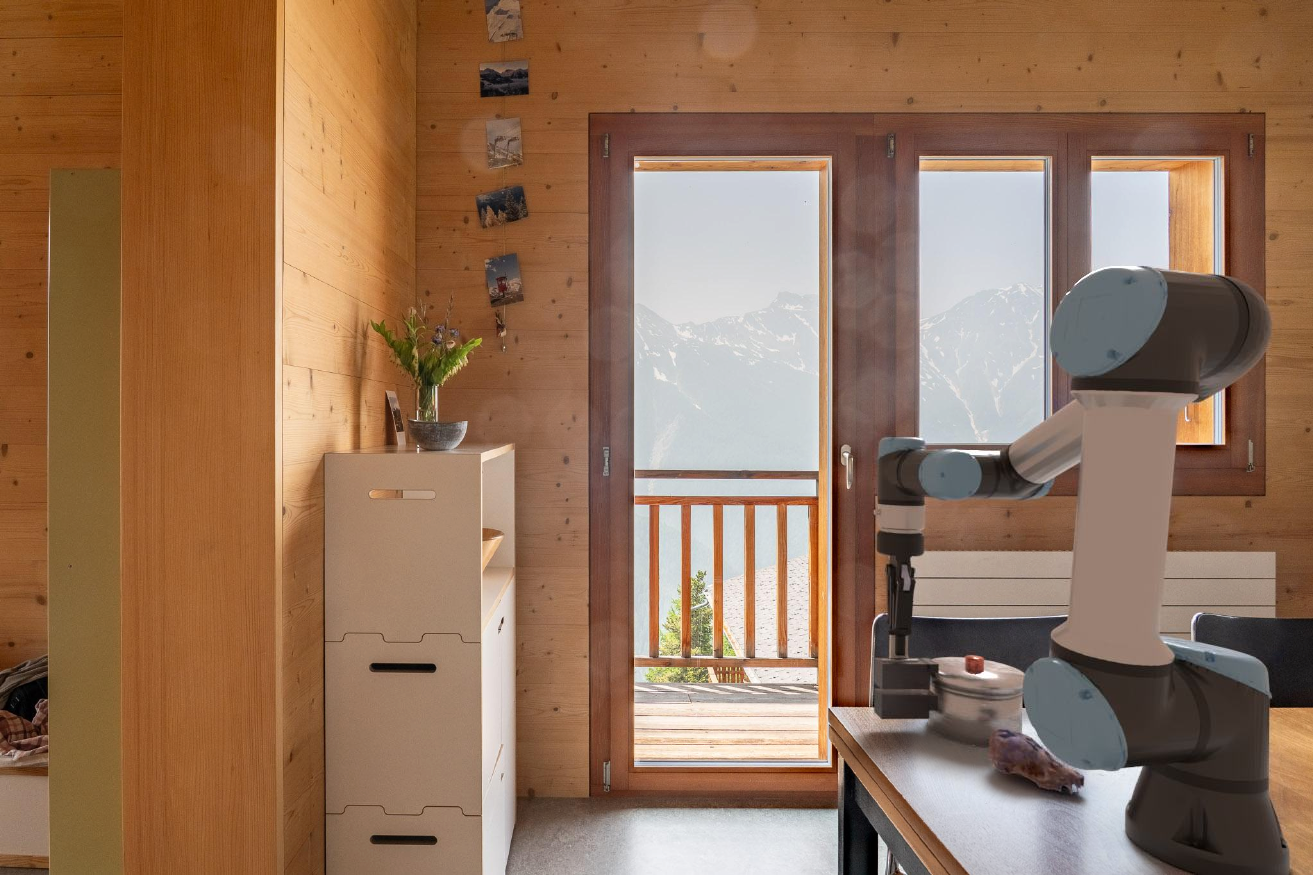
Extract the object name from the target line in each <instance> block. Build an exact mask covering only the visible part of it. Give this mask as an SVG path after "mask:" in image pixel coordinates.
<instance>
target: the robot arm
mask: <svg viewBox="0 0 1313 875" xmlns="http://www.w3.org/2000/svg"><path fill="white" fill-rule="evenodd" d="M1272 328H1273V321H1272V315H1271V311H1270V309H1269V307H1268V305H1267V303H1266V301H1265V300H1264V298H1263V297H1262V296H1261V294H1259V293H1258V292H1257V291H1256V289H1254V288H1252V286H1251V285H1249V284H1247V283H1245V282H1244V281H1241V280H1240V279H1237V278H1236V277H1235V278H1234V277H1232V276H1227V275H1222V274H1216V273H1199V272H1197V273H1196V272H1190V271H1182V270H1174V269H1165V268H1159V267H1152V266H1147V265H1137V266H1135V265H1133V266H1107V267H1103V268H1100V269H1097V270H1095V271H1092V272H1090V273H1089V274H1087V275H1085V276H1083V277H1082V278H1081V279H1080V280H1078V281H1077V282H1076V283H1075V284H1074V285H1073V287H1072V288H1071V290H1070V291H1069V292H1067V293H1065V295H1064V296H1063V298H1062V299H1061V300H1060V302H1059V304H1058V306H1057V308H1056V310H1055V313H1054V314H1053V318H1052V322H1051V324H1050V328H1049V329H1050V331H1049V348H1050V352H1051V355H1052V357H1055V358H1056V359H1055V363H1056V364H1057V365H1058V367H1059V368H1060V369H1062V370H1063V371H1065V372H1066V373H1067V374H1069V375H1071V376H1070V378H1071V380H1070V392H1069V393H1070V395H1071V396H1072V397H1073V398H1074V399H1073V400H1072V401H1070V402H1069V403H1068V404H1066V405H1064V406H1063V407H1062V408H1061V409H1059V410H1057V411H1056V412H1055V413H1053V414H1052V415H1050V416H1049V417H1048V418H1045V420H1043V421H1042V422H1040V423H1038V425H1035V427H1033V428H1032V429H1030V430H1029V431H1028V432H1026V433H1025V434H1023V435H1021V436H1020V437H1019V438H1017V439H1016V440H1015V441H1013V442H1011V443H1010V444H1008V445H1007V446H1006V447H1004V448H1003V449H1001V450H971V449H969V450H967V449H956V448H941V449H940V448H939V449H937V448H936V449H927V446H926V441H925V440H924V439H923V437H904V436H903V437H901V436H898V437H895V436H894V437H892V436H890V437H882V438H881V439H880V441H878V442H879V443H878V451H877V452H878V453H877V459H876V463H877V464H876V465H877V466H876V468H877V473H876V475H877V477H876V479H877V480H876V481H877V486H876V489H877V491H876V492H877V493H876V494H877V498H876V499H877V508H876V509H874V510H873V515H874V516H877V517H876V518H877V520H876V523H877V524H876V526H877V527H878V528H880V530H878V531H876V546H875V547H876V549H875V550H876V552H877V553H878V554H880V555H884V556H889V557H888V558H889V559H888V563H885V568H884V572H885V577H886V578H885V579H886V580H885V581H886V612H887V613H886V616H887V619H886V623H887V625H888V629H887V635H888V636H889V645H888V646H889V651H888V652H889V653H888V654H889V655H888V658H909V636H910V635H911V634H912V626H913V625H912V624H913V623H912V622H913V610H914V609H913V608H914V595H915V594H914V593H915V588H916V584H917V581H916V578H914V577H915V567H914V566H912V561H911V558H912V557H921V556H923V555H924V553H925V534H924V533H923V532H922V530H924V529H925V528H926V499H925V498H931V499H938V500H940V501H961V500H971V499H972V500H1013V501H1027V500H1032V499H1035V500H1036V499H1039V498H1040V499H1041V498H1043V497H1045V496H1046V495H1048V494H1049V492H1050V490H1051V487H1052V486H1053V485H1054V482H1055V478H1056V477H1058V476H1059V475H1061V474H1062V473H1064V472H1066V471H1067V470H1069V469H1071V468H1072V467H1074V466H1077V465H1078V464H1079V475H1078V476H1079V477H1078V488H1077V497H1076V498H1077V499H1076V511H1075V514H1076V515H1075V523H1074V524H1075V525H1074V535H1073V537H1074V538H1073V548H1072V560H1071V561H1072V563H1071V574H1070V575H1071V576H1070V588H1069V600H1068V610H1067V611H1068V613H1067V619H1066V621H1064V622H1063V623H1062V624H1060V625H1058V626H1057V627H1054V629H1052V631H1051V632H1050V643H1049V653H1048V654H1049V656H1046V657H1040V658H1038V660H1035V661H1034V662H1033V663H1032V664H1031V665H1030V666H1028V667H1027V669H1026V671H1025V672H1024V673H1025V676H1024V679H1023V695H1022V700H1023V704H1024V707H1025V712H1026V714H1027V717H1028V720H1029V723H1030V725H1031V727H1032V728H1033V729H1034V730H1035V732H1036V734H1037V737H1038V738H1039V740H1040V741H1041V742H1042V744H1043V745H1044V747H1046V749H1048V752H1049V753H1050V754H1052V755H1054V756H1055V757H1056V758H1057V759H1058V760H1060V761H1061V762H1063V763H1065V764H1066V765H1068V766H1070V767H1073V768H1075V769H1079V770H1084V771H1105V772H1117V771H1120V769H1127V768H1129V769H1130V768H1139V767H1141V770H1140V773H1139V775H1138V777H1137V781H1136V783H1135V786H1134V789H1133V792H1132V795H1131V797H1130V800H1128V803H1127V804H1126V805H1125V810H1124V829H1125V830H1124V831H1125V832H1126V834H1127V836H1128V838H1129V839H1130V840H1131V841H1132V842H1133V843H1135V844H1136V845H1137V846H1138V847H1140V848H1141V849H1142V850H1144V851H1146V852H1147V853H1149V854H1150V855H1152V856H1154V857H1155V858H1158V859H1160V860H1162V861H1163V862H1166V863H1168V864H1171V865H1172V866H1175V867H1177V868H1180V869H1183V870H1186V871H1188V872H1191V873H1194V874H1197V875H1290V874H1291V872H1290V871H1291V869H1290V868H1291V867H1290V866H1291V864H1290V863H1291V861H1290V860H1291V853H1290V848H1289V846H1288V843H1287V841H1286V839H1285V838H1284V835H1283V830H1282V827H1281V823H1280V822H1279V819H1278V815H1277V813H1276V810H1275V808H1274V805H1273V802H1272V799H1271V797H1270V703H1271V702H1270V699H1272V698H1273V696H1272V693H1271V692H1270V683H1269V682H1270V680H1269V671H1268V668H1267V667H1266V665H1265V664H1264V663H1263V662H1262V661H1261V660H1260V659H1258V658H1256V656H1252V655H1251V654H1247V653H1244V652H1241V651H1237V650H1235V649H1230V648H1226V647H1221V646H1217V645H1212V644H1208V643H1203V642H1199V641H1194V640H1189V639H1183V638H1178V637H1177V638H1176V637H1170V636H1162V635H1160V629H1161V616H1162V606H1163V594H1164V593H1163V592H1164V582H1165V571H1166V561H1167V560H1166V559H1167V551H1168V550H1167V549H1168V548H1167V547H1168V540H1169V539H1168V537H1169V527H1170V517H1171V505H1172V491H1173V482H1174V470H1175V459H1176V448H1177V446H1176V445H1177V438H1178V435H1177V434H1178V425H1179V423H1178V422H1179V414H1180V413H1181V412H1182V410H1184V409H1185V408H1186V407H1188V406H1189V405H1192V404H1193V405H1195V404H1199V403H1201V402H1203V401H1205V400H1208V399H1209V398H1210V397H1212V396H1214V395H1216V394H1218V393H1219V392H1221V391H1223V390H1225V389H1226V388H1228V387H1230V386H1231V385H1232V384H1234V383H1236V382H1237V381H1238V380H1240V379H1242V377H1244V376H1245V375H1246V374H1247V373H1249V372H1250V371H1251V370H1252V369H1253V368H1254V367H1255V366H1256V365H1257V364H1258V363H1259V362H1260V361H1261V358H1262V357H1263V356H1264V354H1265V352H1266V351H1267V349H1268V346H1269V343H1270V342H1271V338H1272V330H1273V329H1272Z"/></svg>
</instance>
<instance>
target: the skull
mask: <svg viewBox="0 0 1313 875" xmlns="http://www.w3.org/2000/svg"><path fill="white" fill-rule="evenodd" d="M989 744H990V748H989V751H988V753H987V755H988V759H990V762H991V763H992V765H993V766H994V768H995V769H996V770H998V771H999V772H1000V773H1002V774H1005V775H1008V774H1009V775H1012V774H1018V775H1021V776H1023V777H1025V778H1027V779H1029V780H1031V781H1033V782H1034V783H1036V785H1037V786H1038V787H1039V788H1043V789H1046V790H1055V791H1059V792H1060V793H1062V788H1063V786H1065V787H1067V788H1068V789H1069V793H1070V794H1071V795H1072V794H1073V785H1074V786H1075V787H1076V792H1078V791H1079V789H1080V790H1081V789H1082V788H1084V787H1085V786H1084V784H1085V776H1084V775H1083V774H1081V773H1080V772H1078V771H1077V770H1074V769H1072V768H1071V767H1068V766H1066V765H1064V764H1062V763H1060V761H1059V762H1058V760H1056V759H1055V758H1053V756H1052V755H1051V753H1050V751H1049V750H1047V749H1046V748H1044V747H1043V746H1041V745H1040V743H1038V742H1037V740H1036V739H1034V738H1032V737H1030V735H1027V734H1024V733H1023V732H1022V733H1016V732H1013V731H1011V730H1008V729H1005V728H999V729H996V730H995V731H994V732H993V734H992V735H991V737H990V740H989Z"/></svg>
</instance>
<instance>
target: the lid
mask: <svg viewBox="0 0 1313 875" xmlns="http://www.w3.org/2000/svg"><path fill="white" fill-rule="evenodd" d="M873 673H874V674H873V675H874V677H873V680H874V681H873V683H874V684H875V685H877V687H878V688H879V689H930V680H931V681H933V682H935V683H937V684H940V685H943V686H946V687H949V688H953V689H957V690H962V691H967V692H973V693H982V694H1014V693H1019V692H1022V691H1023V679H1024V676H1025V673H1026V672H1023V671H1022V670H1020V669H1018V668H1015V667H1013V666H1011V665H1007V664H1004V663H1000V662H996V661H992V660H987V659H985V658H984V657H983V656H980V655H972V654H968V655H965V656H964V657H960V656H959V657H958V656H956V657H955V656H948V657H947V656H946V657H935V658H932V659H931V658H929V657H908V658H889V657H874V667H873Z"/></svg>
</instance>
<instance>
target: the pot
mask: <svg viewBox="0 0 1313 875" xmlns="http://www.w3.org/2000/svg"><path fill="white" fill-rule="evenodd" d="M873 695H874V696H873V698H874V700H873V702H874V703H873V704H874V705H873V709H874V710H873V713H875V715H877V717H879V718H880V719H881V720H927V727H928V729H929V730H930V729H931V731H932V732H933V733H934V734H935V735H937V736H939V737H942V738H944V739H945V740H949V741H951V740H952V742H955V743H958V744H961V745H962V744H963V745H966V744H967V745H966V746H971V745H974V746H973V747H977V746H979V748H987V747H990V744H989V740H990V737H991V735H992V734H993V732H994V731H995V730H996V729H999V728H1005V729H1008V730H1011V731H1013V732H1016V733H1022V734H1023V691H1022V692H1019V693H1014V694H982V693H973V692H967V691H962V690H957V689H953V688H949V687H946V686H943V685H940V684H937V683H935V682H933V681H931V680H930V689H881V688H874V694H873Z"/></svg>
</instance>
